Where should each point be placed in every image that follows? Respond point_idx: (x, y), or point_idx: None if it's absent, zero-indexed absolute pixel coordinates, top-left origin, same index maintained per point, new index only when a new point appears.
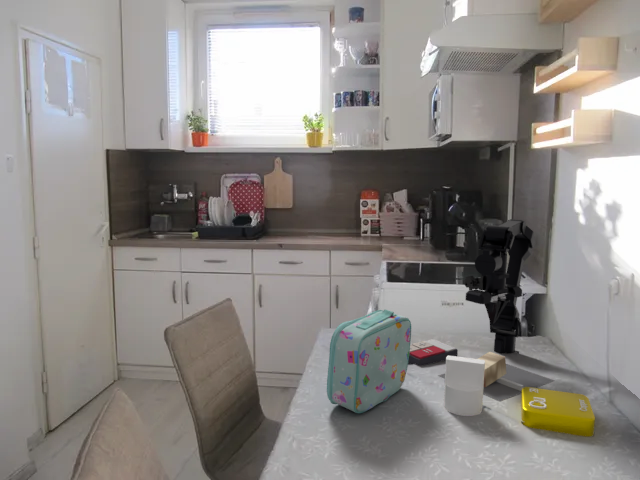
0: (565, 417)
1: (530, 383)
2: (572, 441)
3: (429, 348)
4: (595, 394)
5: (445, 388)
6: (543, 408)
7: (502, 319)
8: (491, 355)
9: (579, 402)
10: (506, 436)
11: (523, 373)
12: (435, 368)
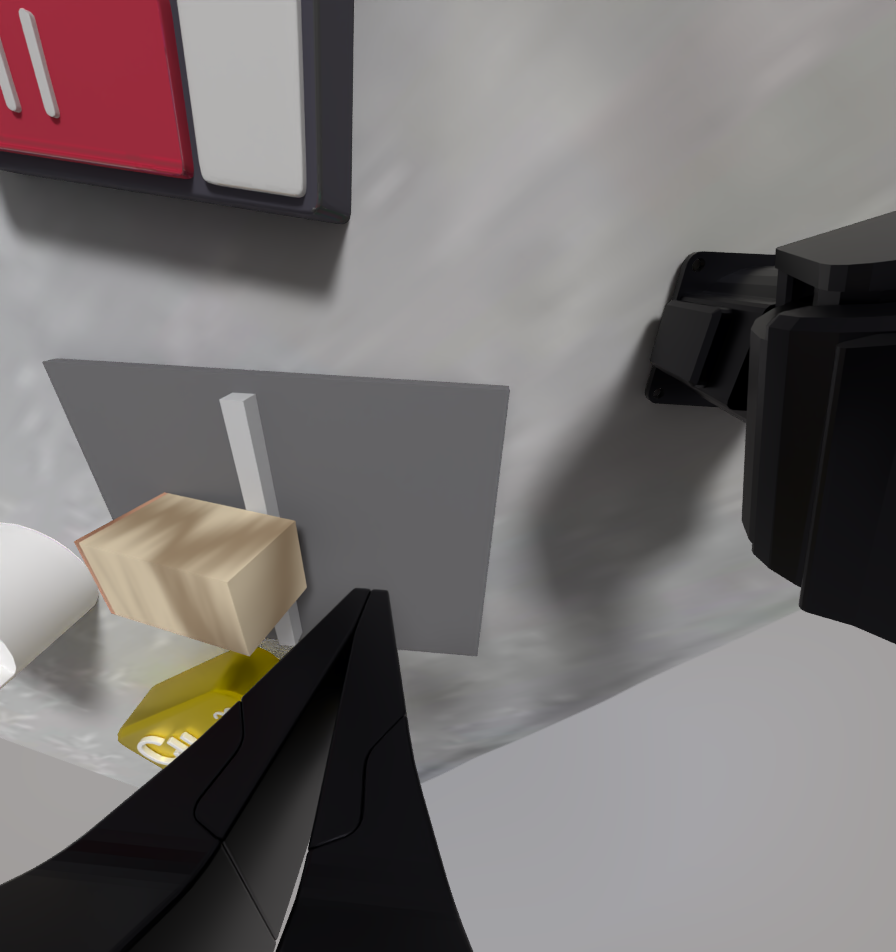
0: None
1: None
2: None
3: (69, 8)
4: (491, 724)
5: None
6: (163, 759)
7: (809, 478)
8: (208, 603)
9: None
10: (72, 691)
11: (445, 573)
12: (115, 240)
